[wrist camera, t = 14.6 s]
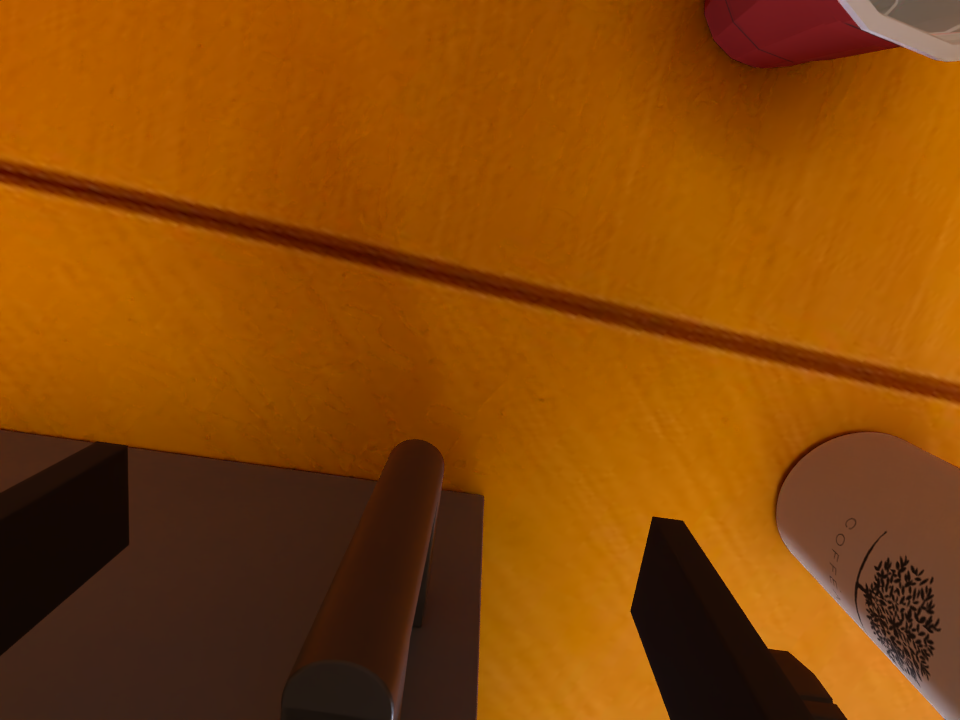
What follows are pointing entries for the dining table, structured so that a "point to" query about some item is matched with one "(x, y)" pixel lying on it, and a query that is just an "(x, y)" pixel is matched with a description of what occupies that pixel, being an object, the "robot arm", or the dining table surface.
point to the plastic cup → (831, 29)
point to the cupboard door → (262, 596)
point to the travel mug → (885, 549)
